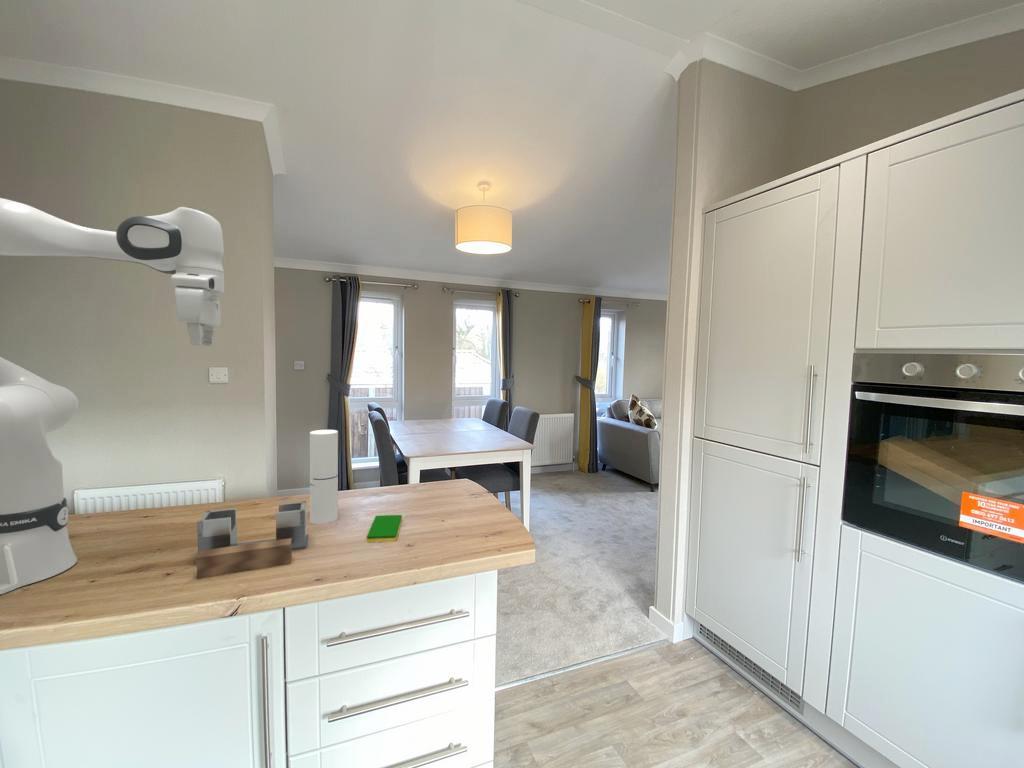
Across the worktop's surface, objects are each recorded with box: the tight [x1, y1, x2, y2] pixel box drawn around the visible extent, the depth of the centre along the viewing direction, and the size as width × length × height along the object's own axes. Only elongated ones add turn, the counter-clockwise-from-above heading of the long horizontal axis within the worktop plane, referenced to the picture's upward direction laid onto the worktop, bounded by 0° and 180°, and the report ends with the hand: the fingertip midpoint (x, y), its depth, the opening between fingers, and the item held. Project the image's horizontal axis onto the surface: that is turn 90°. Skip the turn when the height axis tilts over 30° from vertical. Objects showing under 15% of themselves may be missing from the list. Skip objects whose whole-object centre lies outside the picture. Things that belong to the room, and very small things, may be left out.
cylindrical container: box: [309, 429, 339, 525], centre depth 118 cm, size 7×7×25 cm
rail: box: [196, 538, 293, 580], centre depth 91 cm, size 17×3×5 cm, turn 115°
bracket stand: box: [194, 500, 310, 565], centre depth 99 cm, size 22×7×10 cm, turn 113°
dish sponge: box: [366, 514, 403, 543], centre depth 112 cm, size 7×14×2 cm, turn 9°
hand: (202, 345), depth 96 cm, fingers open, 8 cm apart
